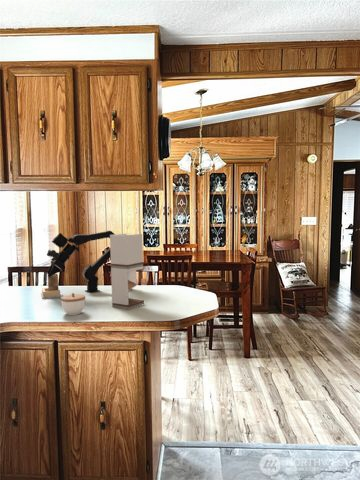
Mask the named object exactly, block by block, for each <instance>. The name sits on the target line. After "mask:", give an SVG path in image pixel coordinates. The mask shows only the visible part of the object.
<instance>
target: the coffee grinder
mask: <svg viewBox="0 0 360 480" xmlns="http://www.w3.org/2000/svg"><path fill="white" fill-rule="evenodd" d="M114 234H115V235H110V238H109V244H110V245H109V248H110V253H111V257H110V277H111V278H110V279H111V280H110V281H111V305H112V306H111V307H112V308H116V309H123V310H128V309H129V310H128V311H130V310H132V308H133V309H135V308H138V307H141V306H143V305H142V304H144V305H145V300H144V299H139V298H129V296H130V295H129V291H131V290H130V289H133V288H135V287H136V286H137V271H140V270H143V269H144V256H143V255H144V250H143V248H144V247H143V244H144V243H143V233H136V234H127V233H119V234H117V233H114ZM140 305H141V306H140ZM137 306H138V307H137Z"/></svg>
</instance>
